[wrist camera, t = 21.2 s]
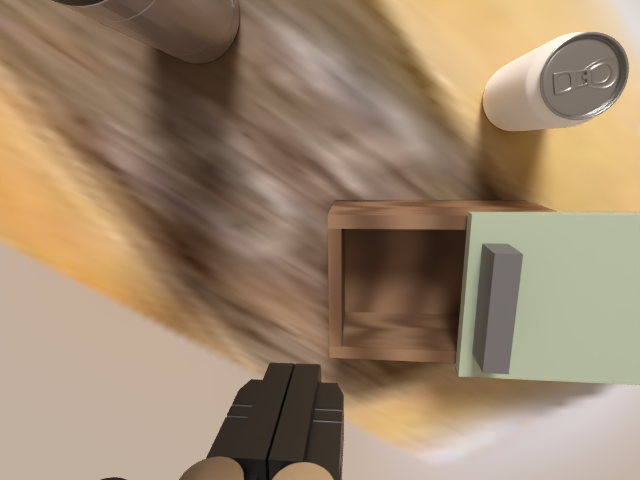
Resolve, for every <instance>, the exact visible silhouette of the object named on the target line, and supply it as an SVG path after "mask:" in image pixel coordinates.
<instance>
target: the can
mask: <svg viewBox="0 0 640 480" xmlns="http://www.w3.org/2000/svg"><path fill="white" fill-rule="evenodd" d="M628 72H629V64H628V59H627V55H626V53H625V51H624V49H623V47H622V46H621V45H620V44H619V42H618V41H616V40H615V39H614V38H612V37H610V36H608V35H606V34H603V33H598V32H575V33H569V34H566V35H563V36H560V37H558V38H555V39H553V40H551V41H549V42H547V43H546V44H544V45H542V46H540V47H538V48H536V49H534V50H532V51H531V52H529V53H527V54H525V55H523V56H521V57H520V58H518V59H516V60H514V61H512V62H510V63H509V64H507V65H505V66H504V67H502V68H501V69H499V70H498V71H497V72H496V73H495V74H494V75H493V76H492V77H491V78H490V80H489V81H488V83H487V85H486V87H485V90H484V94H483V108H484V112H485V114H486V116H487V118H488V119H489V121H490V122H491V123H492V124H493V125H495V126H496V127H498V128H500V129H502V130H506V131H528V130H541V129H554V128H565V127H571V126H576V125H579V124H582V123H585V122H587V121H589V120H591V119H593V118H594V117H596V116H597V115H599V114H601V113H603V112H604V111H606V110H607V109H608V108H609V107H611V106H612V105H613V104H614V103H615V102H616V100H617V99H618V98H619V96H620V95H621V93H622V92H623V90H624V87H625V85H626V82H627V79H628Z"/></svg>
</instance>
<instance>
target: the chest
mask: <svg viewBox="0 0 640 480" xmlns="http://www.w3.org/2000/svg"><path fill="white" fill-rule="evenodd" d="M468 212H557V211H554V210H551V209H548V208H546V207H543V206H540V205H537V204H534V203H531V202H528V201H526V200H335V201H334V203H333V205H332V207H331V209H330V211H329V213H328V295H329V358H348V359H371V360H393V361H416V362H439V363H456V354H457V341H458V329H459V317H460V305H461V292H462V280H463V268H464V255H465V243H466V231H467V219H468Z"/></svg>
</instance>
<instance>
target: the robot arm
mask: <svg viewBox="0 0 640 480" xmlns="http://www.w3.org/2000/svg"><path fill="white" fill-rule="evenodd" d="M53 1H55V2H57V3H59V4H62V5H64V6H66V7H68V8H70V9H72V10H75V11H77V12H79V13H81V14H83V15H85V16H88V17H90V18H92V19H95V20H97V21H99V22H100V23H101V24H103V25H106V26H108V27H110V28H112V29H114V30H116V31H119V32H121V33H123V34H125V35H127V36H129V37H132V38H134V39H136V40H138V41H140V42H143V43H145V44H147V45H149V46H151V47H153V48H156V49H158V50H161V51H163V52H166V53H168V54H170V55H172V56H174V57H177V58H179V59H181V60H183V61H186V62H190V63H195V64H197V63H207V62H210V61H213V60H215V59H217V58H219V57H220V56H221V55H223V54H224V53H225V52H226V51H227V50H228V49H229V47H230V46H231V44H232V43H233V41H234V39H235V36H236V34H237V31H238V26H239V13H240V12H239V5H238V0H53ZM343 436H344V395H343V393H342V392H341V390H340V388H339V386H338V384H337V383H321V365H318V364H296V365H295V364H292V363H270V364H269V366H268V368H267V371H266V373H265V376H264V378H263V380H254V379H251V380H250V381H249V382H248V383H247V384H245V385H244V386H243V387H242V388H241V389H240V390H239V391H238V393H237V395H236V397H235V399H234V401H233V404H232V406H231V408H230V410H229V412H228V414H227V417H226V418H225V420H224V422H223V424H222V426H221V428H220V431H219V433H218V435H217V437H216V439H215V441H214V443H213V445H212V447H211V449H210V452H209V453H208V455H207V458H206V459H204V460H202V461H200V462H198V463H196V464H194V465H193V466H191V467H190V468H189V469H188V470H187V471H186V472H185V473H184V474H183V475H182V477H181V478H180V479H179V480H342V461H343V440H344V437H343ZM102 480H126V479H123V478H117V477H116V478H114V477H113V478H105V479H102Z"/></svg>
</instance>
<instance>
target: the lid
mask: <svg viewBox="0 0 640 480" xmlns="http://www.w3.org/2000/svg"><path fill="white" fill-rule="evenodd" d="M455 369H456V372H457V374H458V377H479V378H500V379H521V380H542V381H563V382H584V383H605V384H626V385H640V212H468V219H467V231H466V243H465V255H464V268H463V280H462V292H461V305H460V317H459V329H458V341H457V354H456V366H455Z"/></svg>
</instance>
